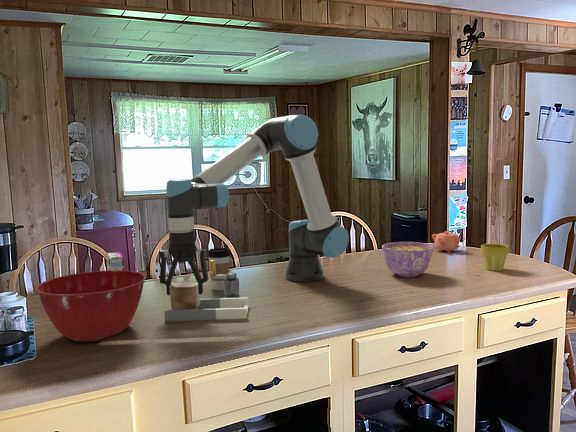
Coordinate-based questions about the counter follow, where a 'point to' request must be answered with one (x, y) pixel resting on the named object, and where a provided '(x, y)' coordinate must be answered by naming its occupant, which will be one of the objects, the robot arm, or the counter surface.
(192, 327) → the counter surface
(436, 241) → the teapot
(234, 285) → the winch
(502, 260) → the plant pot
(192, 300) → the crate
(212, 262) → the crank
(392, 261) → the bowl of food
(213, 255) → the coffee cup
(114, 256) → the candy bar box
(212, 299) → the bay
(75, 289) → the mixing bowl
